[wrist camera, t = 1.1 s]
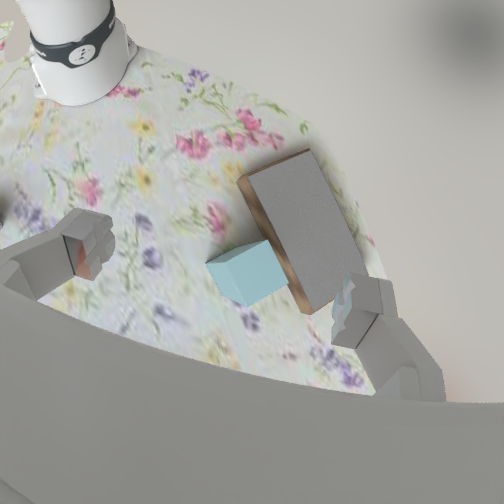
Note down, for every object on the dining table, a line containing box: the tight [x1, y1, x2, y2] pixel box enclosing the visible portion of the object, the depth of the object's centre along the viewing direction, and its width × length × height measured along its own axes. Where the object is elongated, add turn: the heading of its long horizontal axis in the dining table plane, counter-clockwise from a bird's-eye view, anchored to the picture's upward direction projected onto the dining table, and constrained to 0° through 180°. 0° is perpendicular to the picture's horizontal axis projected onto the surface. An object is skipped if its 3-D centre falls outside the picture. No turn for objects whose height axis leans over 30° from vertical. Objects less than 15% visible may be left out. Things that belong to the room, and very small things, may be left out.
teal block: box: [205, 240, 289, 307], centre depth 39 cm, size 5×5×14 cm
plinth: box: [236, 148, 369, 315], centre depth 47 cm, size 22×12×4 cm, turn 28°
